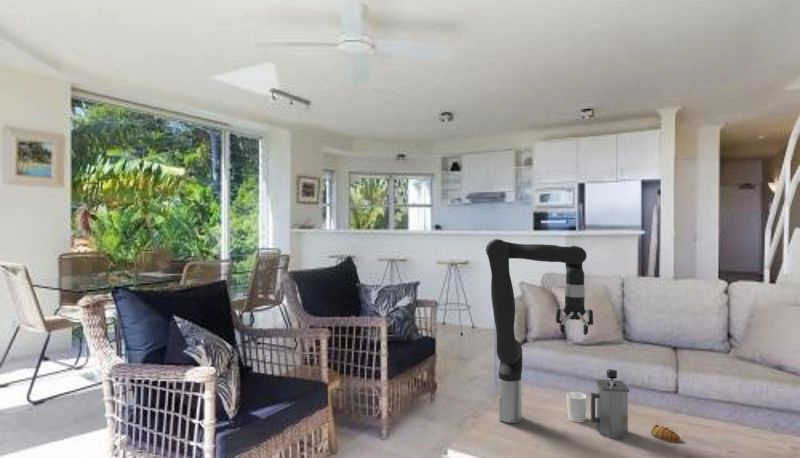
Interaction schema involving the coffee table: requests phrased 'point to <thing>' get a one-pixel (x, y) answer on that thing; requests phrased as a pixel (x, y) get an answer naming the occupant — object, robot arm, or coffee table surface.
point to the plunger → (611, 375)
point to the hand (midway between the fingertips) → (573, 334)
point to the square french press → (611, 409)
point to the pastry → (664, 433)
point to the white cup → (576, 406)
